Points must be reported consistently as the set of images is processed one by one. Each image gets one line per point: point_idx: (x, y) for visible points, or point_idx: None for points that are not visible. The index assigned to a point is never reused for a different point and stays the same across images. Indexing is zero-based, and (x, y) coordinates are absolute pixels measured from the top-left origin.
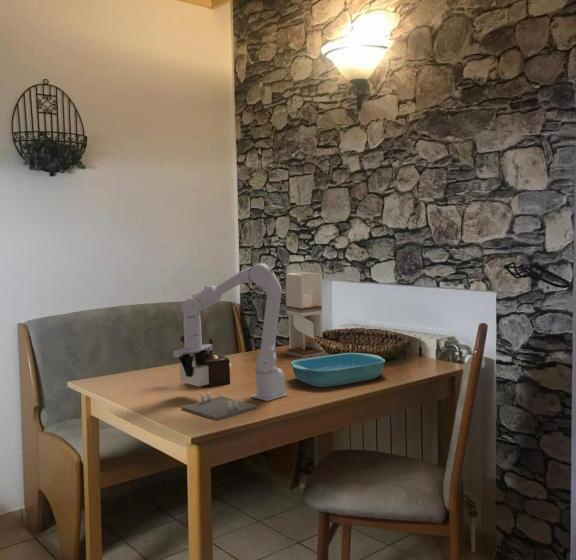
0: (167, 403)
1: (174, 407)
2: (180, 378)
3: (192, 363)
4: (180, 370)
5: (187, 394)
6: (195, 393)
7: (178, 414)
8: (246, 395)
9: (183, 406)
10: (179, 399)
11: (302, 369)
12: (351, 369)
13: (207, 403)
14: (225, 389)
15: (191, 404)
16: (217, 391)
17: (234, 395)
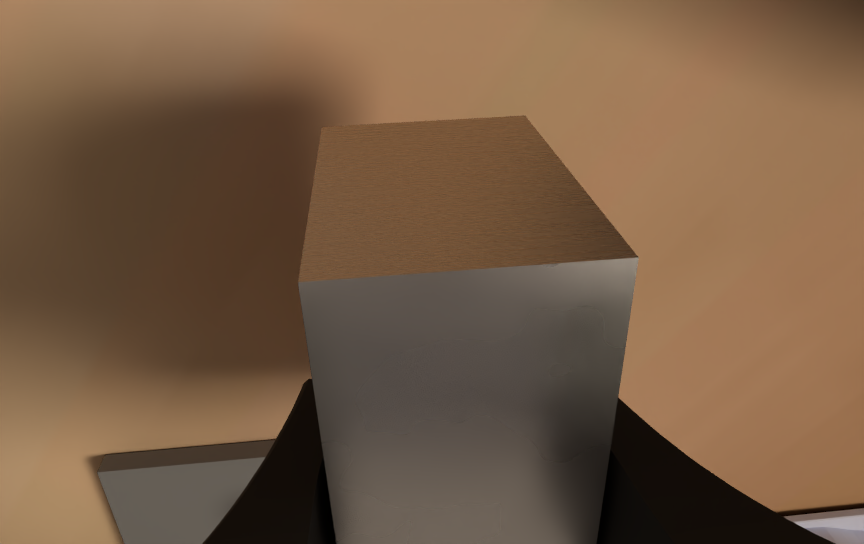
0: (57, 208)
1: (69, 369)
2: (320, 145)
3: (547, 440)
4: (310, 217)
5: (441, 52)
6: (534, 90)
7: (23, 530)
8: (747, 466)
9: (116, 471)
10: (247, 170)
11: None
12: None
13: None
14: (839, 202)
15: (208, 467)
16: (733, 205)
17: (698, 412)
